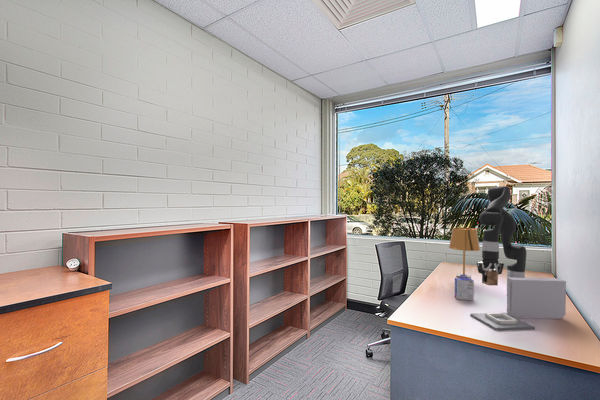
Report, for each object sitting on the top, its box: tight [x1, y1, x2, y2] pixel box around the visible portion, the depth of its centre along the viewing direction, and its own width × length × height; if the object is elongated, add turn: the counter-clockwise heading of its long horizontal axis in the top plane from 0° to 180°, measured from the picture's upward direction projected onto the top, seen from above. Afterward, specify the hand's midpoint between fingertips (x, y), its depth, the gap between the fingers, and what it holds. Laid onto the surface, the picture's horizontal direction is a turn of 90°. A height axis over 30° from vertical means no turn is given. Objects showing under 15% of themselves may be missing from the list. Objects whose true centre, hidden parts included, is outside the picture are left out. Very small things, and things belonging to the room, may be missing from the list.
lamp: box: [448, 227, 481, 279], centre depth 224 cm, size 21×21×41 cm
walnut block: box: [481, 269, 499, 286], centre depth 158 cm, size 5×5×7 cm
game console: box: [506, 276, 567, 320], centre depth 159 cm, size 6×27×20 cm, turn 88°
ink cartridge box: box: [454, 275, 475, 301], centre depth 187 cm, size 10×6×14 cm, turn 78°
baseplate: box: [469, 312, 536, 331], centre depth 150 cm, size 20×18×3 cm
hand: (489, 281), depth 158 cm, fingers closed on walnut block, 5 cm apart
